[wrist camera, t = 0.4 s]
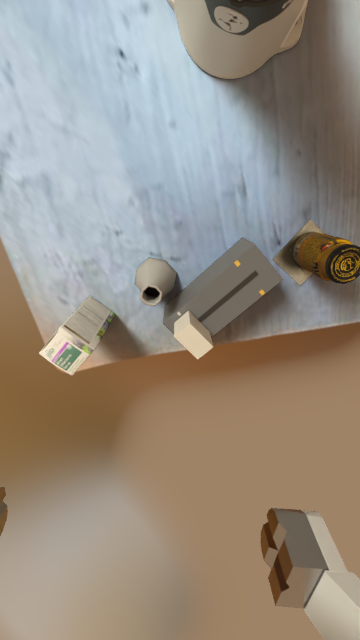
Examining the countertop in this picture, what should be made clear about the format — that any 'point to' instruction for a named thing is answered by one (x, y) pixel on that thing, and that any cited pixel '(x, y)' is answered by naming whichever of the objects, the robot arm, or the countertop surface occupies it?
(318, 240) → the condiment
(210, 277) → the console
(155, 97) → the countertop surface
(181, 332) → the fader
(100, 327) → the syrup box
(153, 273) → the flask
